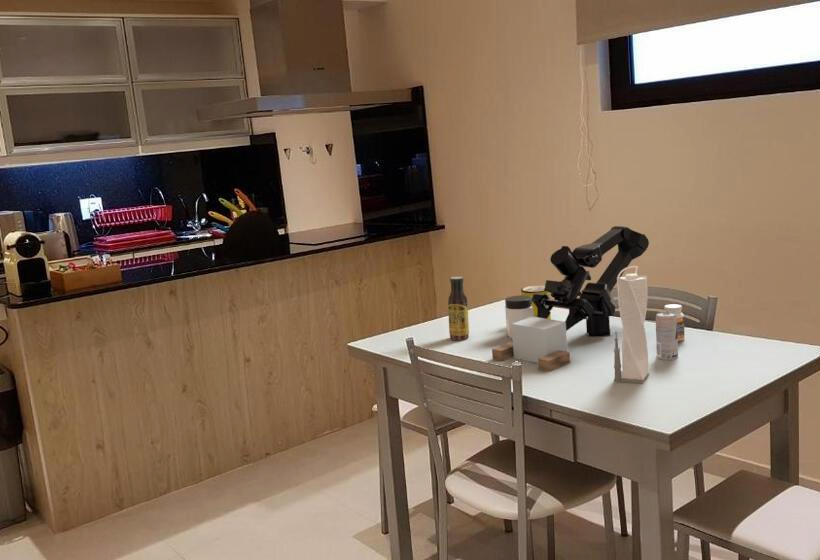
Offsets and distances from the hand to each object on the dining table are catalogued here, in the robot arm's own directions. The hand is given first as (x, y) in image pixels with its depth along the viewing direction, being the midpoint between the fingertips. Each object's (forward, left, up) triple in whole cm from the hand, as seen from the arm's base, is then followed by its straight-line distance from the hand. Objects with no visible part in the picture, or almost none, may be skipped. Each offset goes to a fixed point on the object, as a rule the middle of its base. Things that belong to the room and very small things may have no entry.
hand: (549, 329), depth 216 cm
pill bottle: (-34, -11, -7) cm, 37 cm away
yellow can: (+7, -32, -7) cm, 33 cm away
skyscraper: (-22, +22, -7) cm, 32 cm away
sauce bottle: (+30, -17, -7) cm, 35 cm away
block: (+3, +4, -7) cm, 8 cm away
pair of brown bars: (+5, +7, -7) cm, 11 cm away
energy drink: (-31, +6, -7) cm, 33 cm away
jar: (+11, -19, -7) cm, 23 cm away
